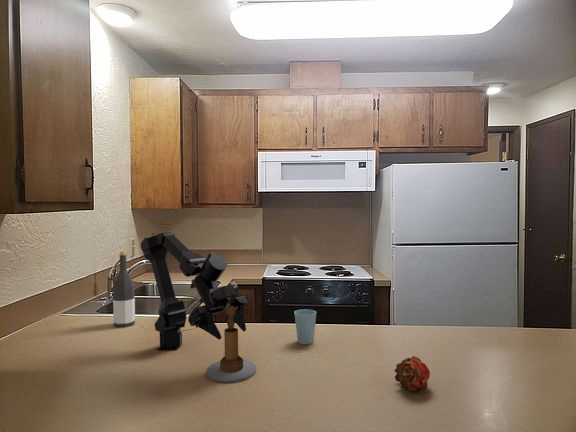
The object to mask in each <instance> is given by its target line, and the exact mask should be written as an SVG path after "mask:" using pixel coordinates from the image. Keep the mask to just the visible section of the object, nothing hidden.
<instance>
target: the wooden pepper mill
mask: <svg viewBox="0 0 576 432" xmlns="http://www.w3.org/2000/svg"><path fill="white" fill-rule="evenodd" d="M224 313H225V314H226V316H227V318H228V319H227V321H226V325H227V328H225V329H224V330H223V333H224V335H223V336H224V356H223V357H222V358H220V360H219V361H220V370H221V371H223V372H228V373H231V372H237V371H240V370H241V369H243V360H244V358H242V357H241V356H240V355H239V329H238V328H237V327H235V324H236V323H235V321H234V320H233V317H234V315H235V313H236V308H235V307H234V306H232V305H230V306H228V307H227V308H226V310H225V312H224Z"/></svg>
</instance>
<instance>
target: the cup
mask: <svg viewBox="0 0 576 432" xmlns="http://www.w3.org/2000/svg"><path fill="white" fill-rule="evenodd" d="M293 313H294V314H293V315H294V321H295V328H296V329H295V330H296V331H295V332H296V338H297V339H296V340H297V342H298V344H301V345H312V344H313V343H314V340H315V331H316V330H315V329H316V319H317V311H316V310H312V309H306V308H304V309H298V310H294V312H293Z"/></svg>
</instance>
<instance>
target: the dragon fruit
mask: <svg viewBox="0 0 576 432" xmlns="http://www.w3.org/2000/svg"><path fill="white" fill-rule="evenodd" d="M430 372H431V371H430V369H429V367H428V366H427V364H426V363H424V362H423V361H422V360H421V359H420V358H419V357H417V356H415V355H413V356H411V357H406V358H404V359H403V360H402V361H400V363H397V364H396V366H395V368H394V373H396V374H395V375H394V379H395V381H396V382H399V383H400V385H401V386H403V387H405V388H406V390H408V391H411V392H416V391H417V390H418V389H420V390H422V389H423V390H426V389H427V387H428V380H429V379H430V378H431V377H430V375H431V373H430Z"/></svg>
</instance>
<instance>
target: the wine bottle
mask: <svg viewBox="0 0 576 432" xmlns="http://www.w3.org/2000/svg"><path fill="white" fill-rule="evenodd" d="M127 269H128V268H127V253H126V251H124V250H122V251H120V252H119V272H118V274H117V276H116V277H115V280H114V283H113V287H112V303H113V305H112V308H113V309H112V311H113V327H115V328H121V329H122V328H128V327H132V326H134V325H135V324H136V312H135V311H136V308H135V307H136V305H135V303H136V301H135V300H136V299H135V297H136V296H135V285H134V281H133V278H132V276H131V275H130V273H129V272H128V270H127Z"/></svg>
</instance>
